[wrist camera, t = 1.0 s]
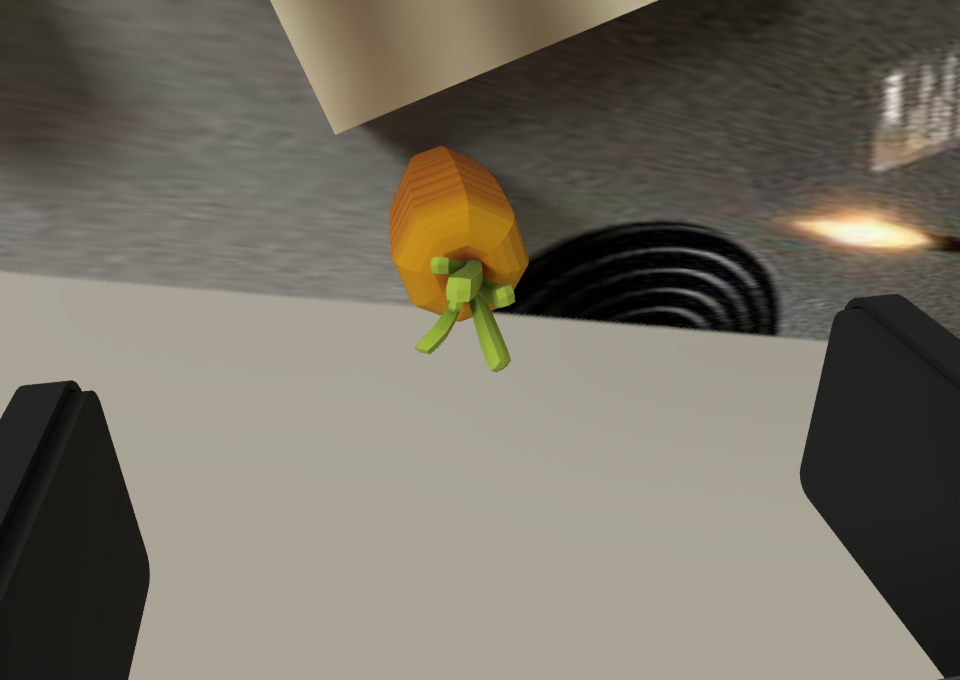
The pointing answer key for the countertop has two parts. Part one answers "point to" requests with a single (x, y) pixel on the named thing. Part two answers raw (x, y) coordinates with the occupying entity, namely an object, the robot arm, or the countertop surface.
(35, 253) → the countertop surface
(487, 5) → the maple block
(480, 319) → the carrot
